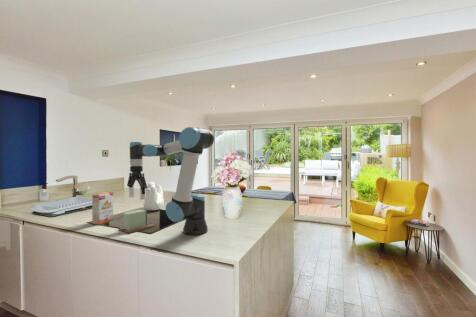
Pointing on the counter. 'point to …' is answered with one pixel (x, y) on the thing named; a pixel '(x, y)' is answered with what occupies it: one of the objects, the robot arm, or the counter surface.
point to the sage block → (134, 219)
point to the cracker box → (102, 207)
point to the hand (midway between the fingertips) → (137, 198)
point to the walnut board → (137, 228)
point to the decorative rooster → (153, 197)
